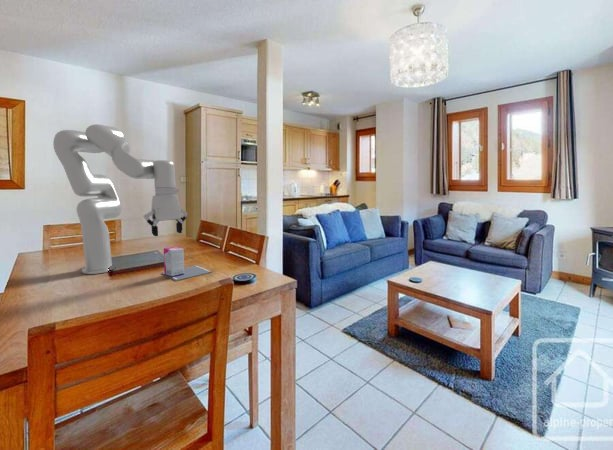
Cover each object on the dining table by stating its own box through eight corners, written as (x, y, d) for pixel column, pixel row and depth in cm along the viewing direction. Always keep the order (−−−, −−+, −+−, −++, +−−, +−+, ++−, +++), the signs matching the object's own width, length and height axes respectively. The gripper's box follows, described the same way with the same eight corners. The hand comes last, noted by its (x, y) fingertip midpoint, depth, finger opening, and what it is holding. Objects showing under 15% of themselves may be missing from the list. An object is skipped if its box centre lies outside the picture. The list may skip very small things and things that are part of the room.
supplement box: (184, 274, 128) (183, 247, 126) (171, 277, 123) (170, 250, 121) (176, 271, 131) (175, 246, 130) (163, 275, 126) (162, 248, 125)
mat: (161, 273, 130) (161, 272, 130) (196, 265, 142) (196, 264, 141) (176, 281, 121) (175, 280, 120) (212, 272, 132) (212, 271, 132)
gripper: (181, 191, 129) (183, 230, 132) (138, 192, 116) (141, 235, 119) (190, 192, 124) (192, 232, 127) (146, 193, 112) (149, 238, 114)
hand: (167, 234), depth 123 cm, fingers open, 9 cm apart
